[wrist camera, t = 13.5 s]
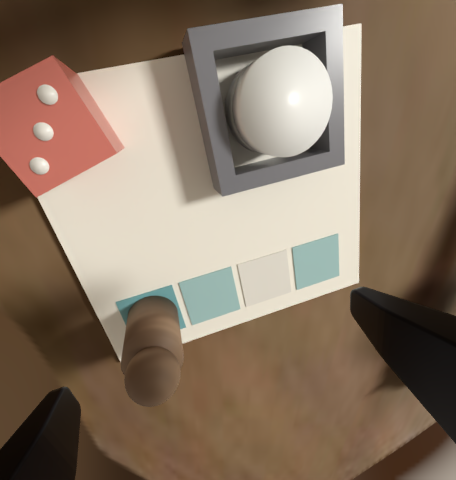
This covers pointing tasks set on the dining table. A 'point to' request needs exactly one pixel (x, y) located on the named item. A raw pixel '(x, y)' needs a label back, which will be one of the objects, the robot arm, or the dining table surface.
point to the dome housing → (251, 41)
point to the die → (51, 126)
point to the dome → (280, 102)
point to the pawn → (152, 351)
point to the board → (202, 208)
